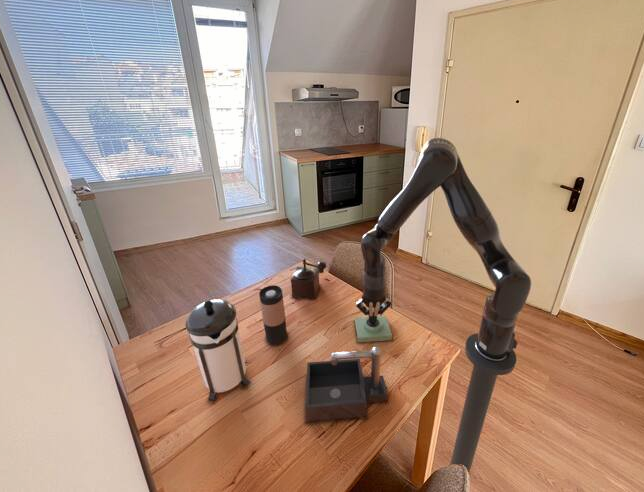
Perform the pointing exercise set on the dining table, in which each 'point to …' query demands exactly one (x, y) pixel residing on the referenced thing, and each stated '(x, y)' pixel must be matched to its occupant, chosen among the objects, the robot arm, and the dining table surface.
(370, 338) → the switch block
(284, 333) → the travel mug
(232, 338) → the coffee press
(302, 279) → the manual coffee grinder
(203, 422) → the dining table surface
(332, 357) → the faucet
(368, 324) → the button
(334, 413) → the sink
